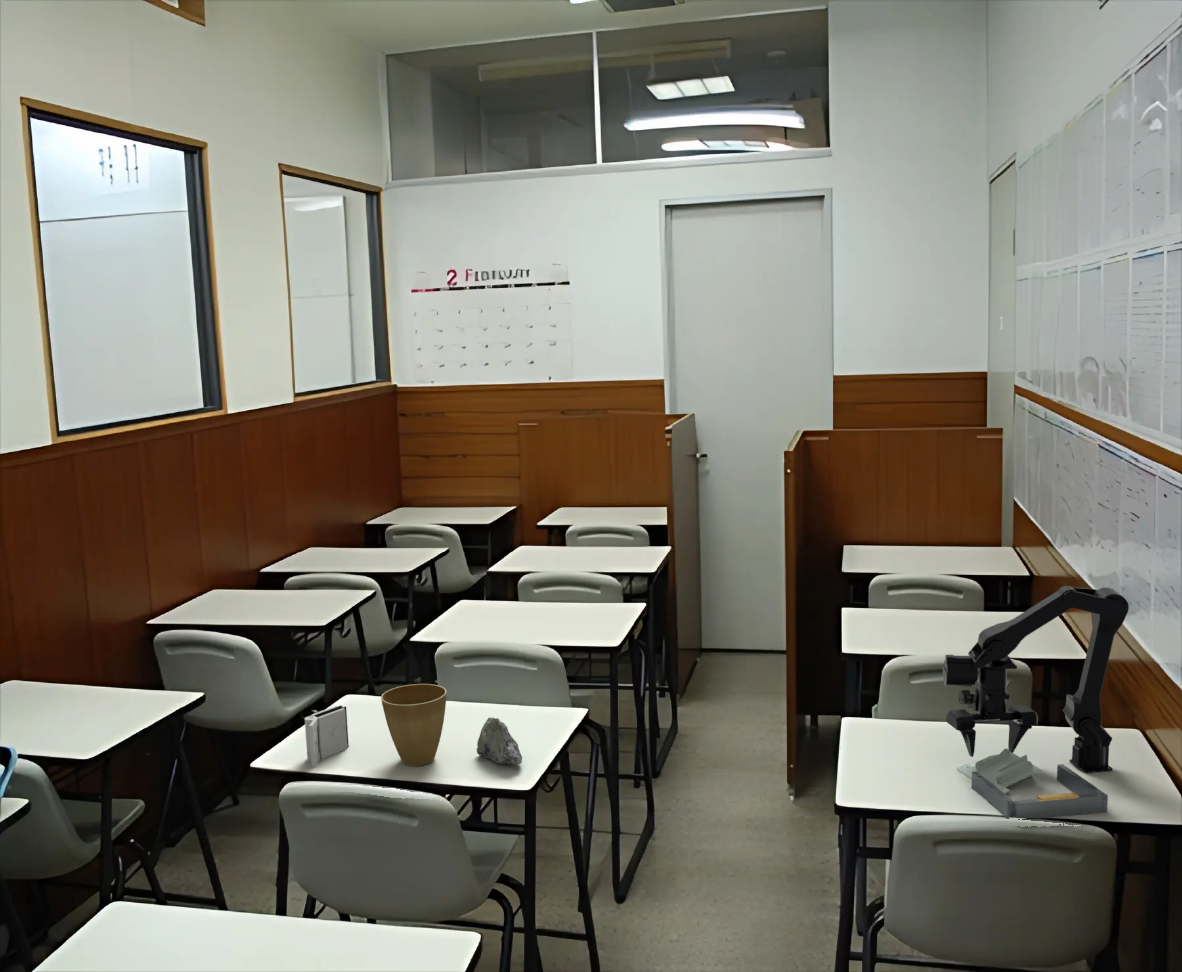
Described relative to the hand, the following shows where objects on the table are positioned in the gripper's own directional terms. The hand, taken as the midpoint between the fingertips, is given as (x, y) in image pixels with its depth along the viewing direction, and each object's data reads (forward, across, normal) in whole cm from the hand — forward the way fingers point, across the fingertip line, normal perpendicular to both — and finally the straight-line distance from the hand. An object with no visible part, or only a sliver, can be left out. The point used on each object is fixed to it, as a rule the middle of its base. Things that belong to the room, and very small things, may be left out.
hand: (990, 754), depth 243 cm
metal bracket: (+3, +2, +8) cm, 9 cm away
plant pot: (+2, +126, -27) cm, 129 cm away
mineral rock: (+2, +108, -22) cm, 110 cm away
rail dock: (+2, 0, +19) cm, 19 cm away
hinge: (+2, +148, -34) cm, 151 cm away
